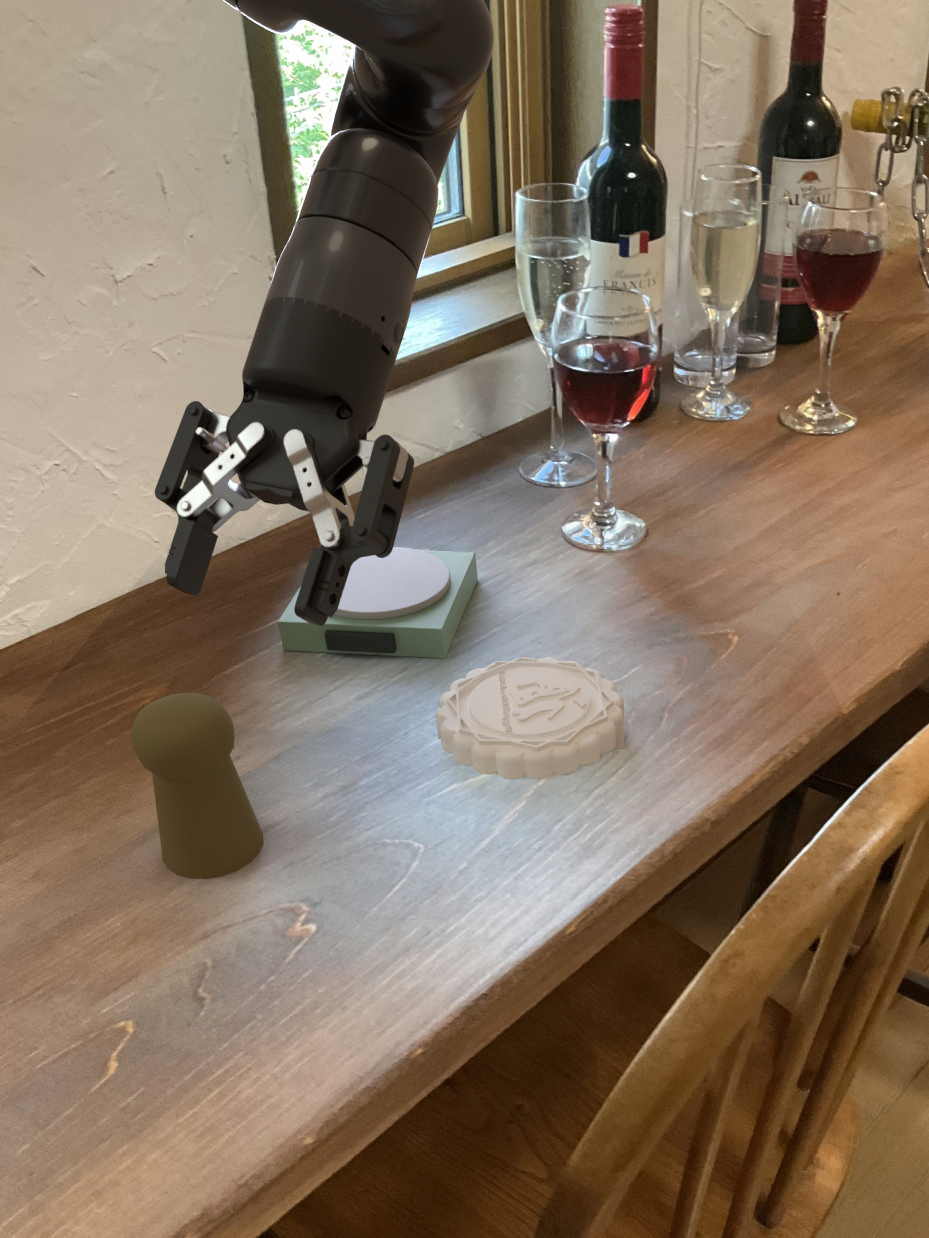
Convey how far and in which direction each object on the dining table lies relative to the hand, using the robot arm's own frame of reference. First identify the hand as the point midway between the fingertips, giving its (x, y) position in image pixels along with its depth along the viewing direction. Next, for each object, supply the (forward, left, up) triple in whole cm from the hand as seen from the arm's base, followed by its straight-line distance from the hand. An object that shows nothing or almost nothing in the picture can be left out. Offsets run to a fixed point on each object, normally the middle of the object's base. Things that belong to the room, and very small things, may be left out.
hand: (244, 605), depth 70 cm
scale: (0, +24, -14) cm, 27 cm away
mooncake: (+14, +8, -14) cm, 21 cm away
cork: (-2, -6, -14) cm, 15 cm away
